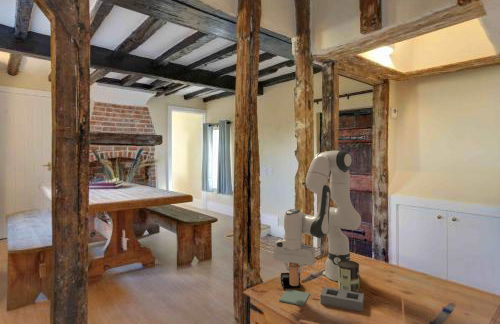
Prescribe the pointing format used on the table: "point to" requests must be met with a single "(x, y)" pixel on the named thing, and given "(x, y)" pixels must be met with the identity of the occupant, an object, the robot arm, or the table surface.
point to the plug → (293, 274)
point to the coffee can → (348, 275)
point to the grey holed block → (342, 298)
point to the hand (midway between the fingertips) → (293, 271)
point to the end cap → (288, 281)
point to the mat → (294, 297)
